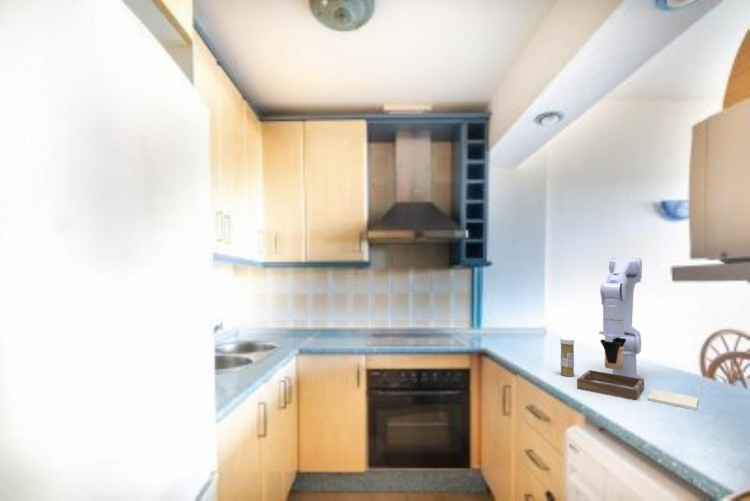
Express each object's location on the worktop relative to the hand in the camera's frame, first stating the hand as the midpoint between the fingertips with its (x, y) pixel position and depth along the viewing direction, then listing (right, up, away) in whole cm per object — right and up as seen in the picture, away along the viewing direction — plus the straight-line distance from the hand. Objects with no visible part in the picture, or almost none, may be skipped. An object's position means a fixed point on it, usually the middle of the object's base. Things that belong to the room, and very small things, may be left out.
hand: (613, 361), depth 123 cm
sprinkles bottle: (-7, -10, +15) cm, 20 cm away
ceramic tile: (+11, -9, -11) cm, 17 cm away
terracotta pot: (0, -2, 0) cm, 2 cm away
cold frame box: (-1, -9, 0) cm, 9 cm away
